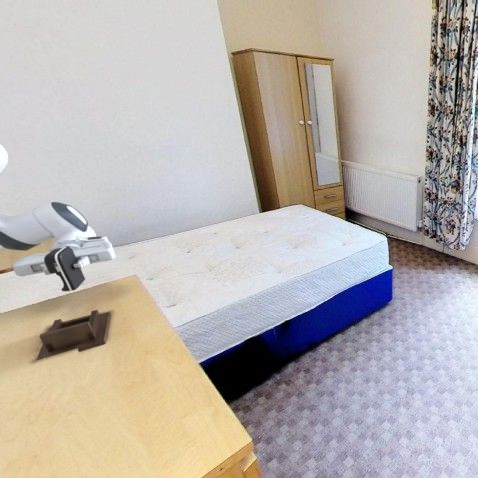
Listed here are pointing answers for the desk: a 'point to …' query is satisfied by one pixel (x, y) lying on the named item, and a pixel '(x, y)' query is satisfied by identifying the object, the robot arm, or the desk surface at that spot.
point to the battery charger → (64, 267)
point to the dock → (75, 334)
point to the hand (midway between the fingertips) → (63, 269)
